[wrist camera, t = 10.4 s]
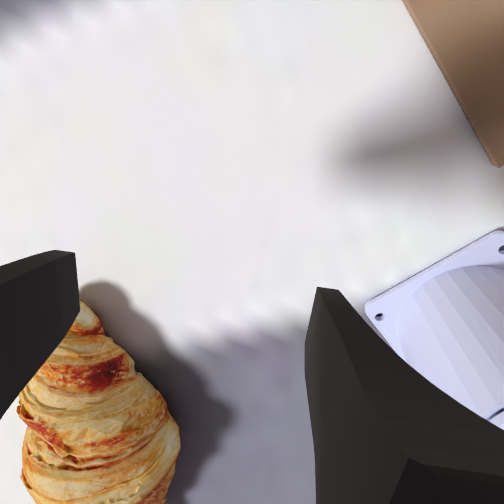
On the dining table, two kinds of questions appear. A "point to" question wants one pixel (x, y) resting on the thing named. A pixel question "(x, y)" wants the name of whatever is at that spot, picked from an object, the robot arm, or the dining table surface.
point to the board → (469, 60)
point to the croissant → (95, 425)
